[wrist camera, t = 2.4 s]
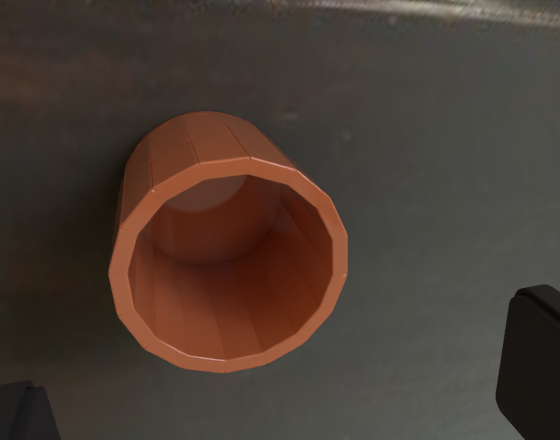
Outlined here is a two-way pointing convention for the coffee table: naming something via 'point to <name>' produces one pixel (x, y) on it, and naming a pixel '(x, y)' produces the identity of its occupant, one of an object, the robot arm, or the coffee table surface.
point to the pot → (222, 246)
